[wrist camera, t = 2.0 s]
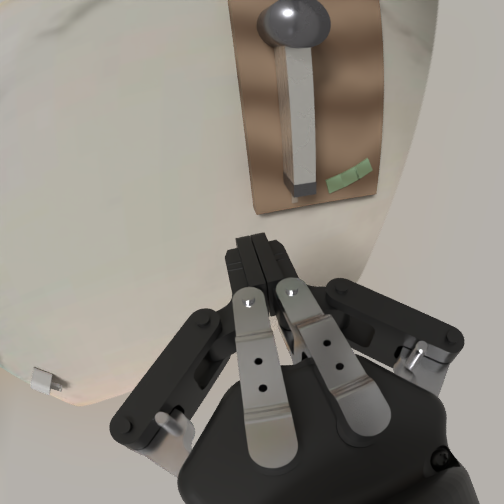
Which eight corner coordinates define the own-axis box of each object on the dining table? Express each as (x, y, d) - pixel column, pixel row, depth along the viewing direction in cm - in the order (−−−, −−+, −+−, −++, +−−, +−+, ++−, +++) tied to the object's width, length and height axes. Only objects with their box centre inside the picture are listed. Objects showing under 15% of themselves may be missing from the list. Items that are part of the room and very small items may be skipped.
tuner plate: (226, -8, 16) (229, -12, 14) (370, 1, 17) (380, -1, 16) (253, 207, 30) (257, 215, 28) (369, 188, 31) (377, 194, 29)
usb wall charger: (34, 366, 40) (30, 382, 37) (63, 376, 43) (61, 393, 40) (34, 373, 42) (31, 389, 38) (62, 383, 45) (60, 399, 42)
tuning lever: (253, 5, 16) (267, -7, 12) (305, 5, 16) (327, -4, 13) (272, 185, 27) (285, 207, 23) (314, 178, 27) (333, 198, 24)
